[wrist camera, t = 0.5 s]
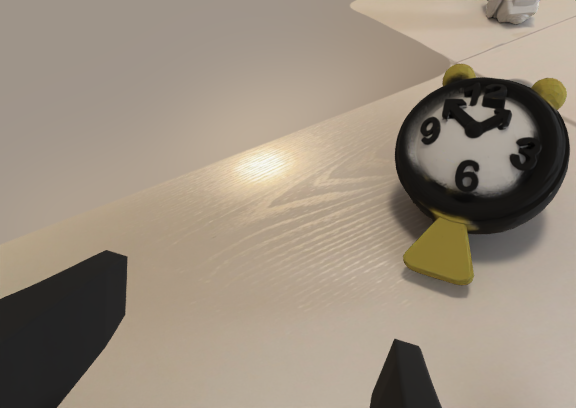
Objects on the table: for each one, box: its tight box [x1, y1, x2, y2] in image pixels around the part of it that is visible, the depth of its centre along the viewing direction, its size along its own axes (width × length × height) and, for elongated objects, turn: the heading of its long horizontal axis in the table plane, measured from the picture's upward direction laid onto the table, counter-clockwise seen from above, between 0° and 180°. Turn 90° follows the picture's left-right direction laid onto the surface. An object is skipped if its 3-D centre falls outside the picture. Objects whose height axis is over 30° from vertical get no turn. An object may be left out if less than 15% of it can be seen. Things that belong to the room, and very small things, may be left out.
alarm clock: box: [395, 64, 570, 285], centre depth 39 cm, size 12×15×15 cm
